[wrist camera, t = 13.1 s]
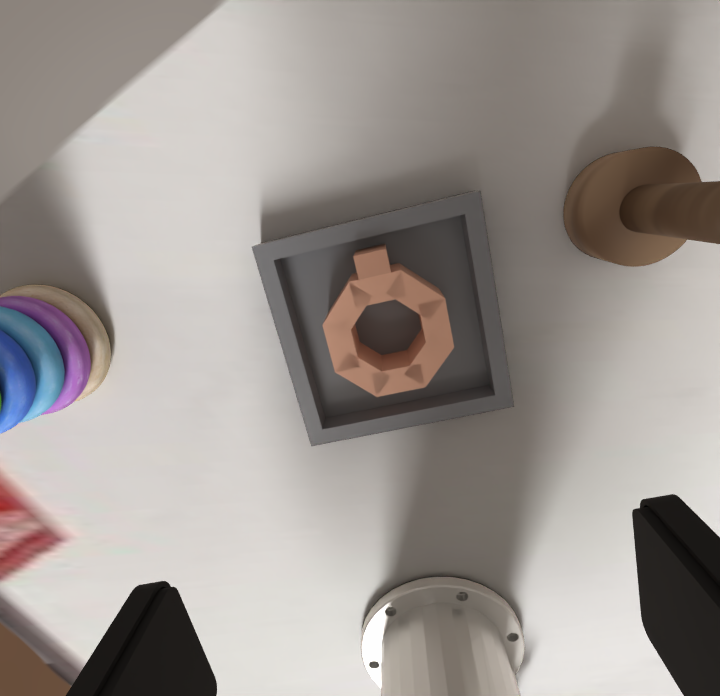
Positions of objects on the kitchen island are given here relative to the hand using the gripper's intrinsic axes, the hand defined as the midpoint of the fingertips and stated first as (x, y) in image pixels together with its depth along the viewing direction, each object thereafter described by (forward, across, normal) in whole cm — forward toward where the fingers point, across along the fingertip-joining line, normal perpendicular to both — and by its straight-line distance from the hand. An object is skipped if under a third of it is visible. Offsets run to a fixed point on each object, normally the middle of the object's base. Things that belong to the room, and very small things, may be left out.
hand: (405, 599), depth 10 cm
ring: (+21, 0, 0) cm, 21 cm away
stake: (+22, -14, -4) cm, 27 cm away
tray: (+22, 0, 0) cm, 22 cm away
